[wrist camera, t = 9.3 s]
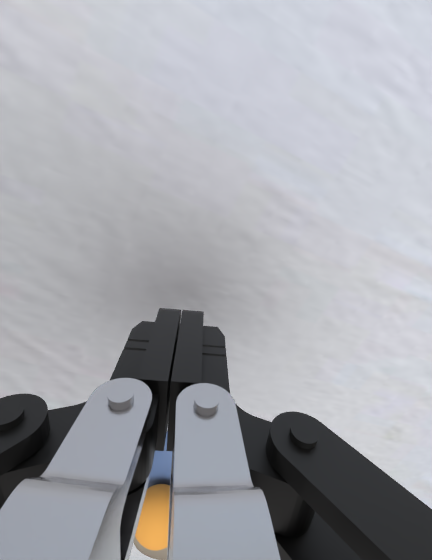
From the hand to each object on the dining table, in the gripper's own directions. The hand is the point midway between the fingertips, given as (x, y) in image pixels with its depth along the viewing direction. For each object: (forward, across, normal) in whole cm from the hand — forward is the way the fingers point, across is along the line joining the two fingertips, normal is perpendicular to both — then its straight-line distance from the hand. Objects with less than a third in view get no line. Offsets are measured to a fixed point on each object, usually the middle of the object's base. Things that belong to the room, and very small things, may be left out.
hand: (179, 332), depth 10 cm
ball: (+11, +1, +30) cm, 31 cm away
